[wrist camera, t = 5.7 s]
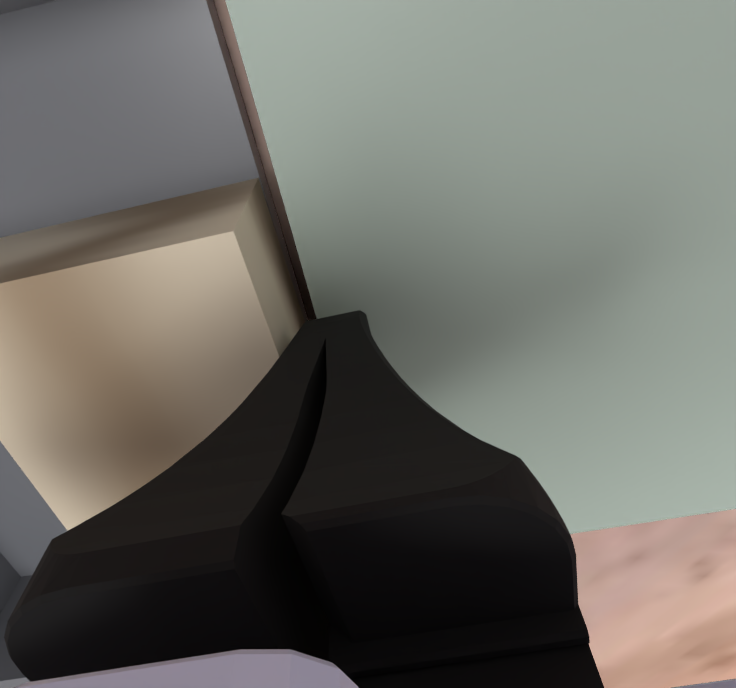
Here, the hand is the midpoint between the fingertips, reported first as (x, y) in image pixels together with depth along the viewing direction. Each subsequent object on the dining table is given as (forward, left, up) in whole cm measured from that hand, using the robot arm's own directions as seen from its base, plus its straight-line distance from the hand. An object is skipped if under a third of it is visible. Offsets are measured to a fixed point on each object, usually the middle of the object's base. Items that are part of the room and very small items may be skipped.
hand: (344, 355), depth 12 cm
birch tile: (+4, 0, -2) cm, 4 cm away
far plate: (-5, 0, -2) cm, 6 cm away
